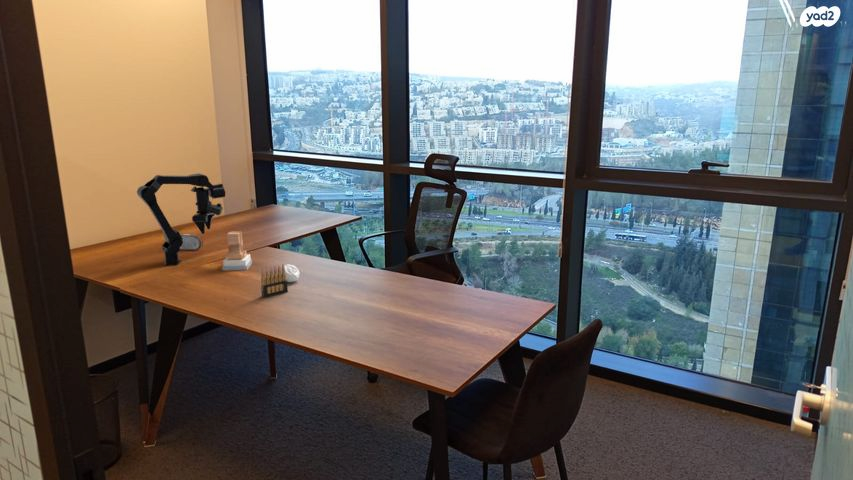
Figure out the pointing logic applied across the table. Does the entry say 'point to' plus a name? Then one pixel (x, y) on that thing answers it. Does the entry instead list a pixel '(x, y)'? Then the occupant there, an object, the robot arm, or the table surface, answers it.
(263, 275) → the ammunition clip
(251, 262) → the tower base
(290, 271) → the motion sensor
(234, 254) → the pillar
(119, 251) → the table surface
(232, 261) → the white square slab
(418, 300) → the table surface
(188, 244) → the tin
